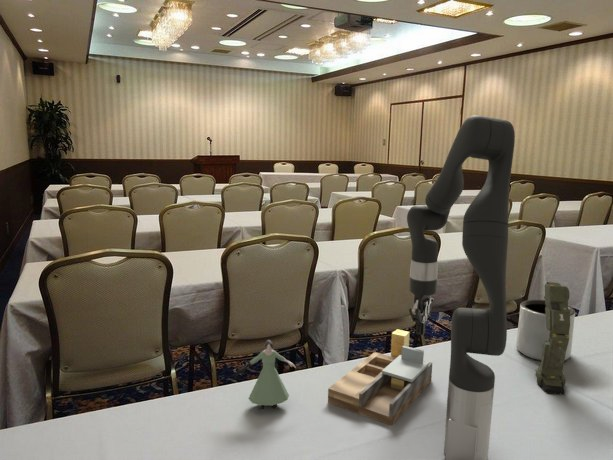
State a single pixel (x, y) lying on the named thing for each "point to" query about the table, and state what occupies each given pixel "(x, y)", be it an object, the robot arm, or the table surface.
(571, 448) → the table surface
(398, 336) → the pin
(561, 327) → the mechanical leg
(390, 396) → the board
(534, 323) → the planter
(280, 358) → the character figurine
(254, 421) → the table surface
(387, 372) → the lid
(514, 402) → the table surface
